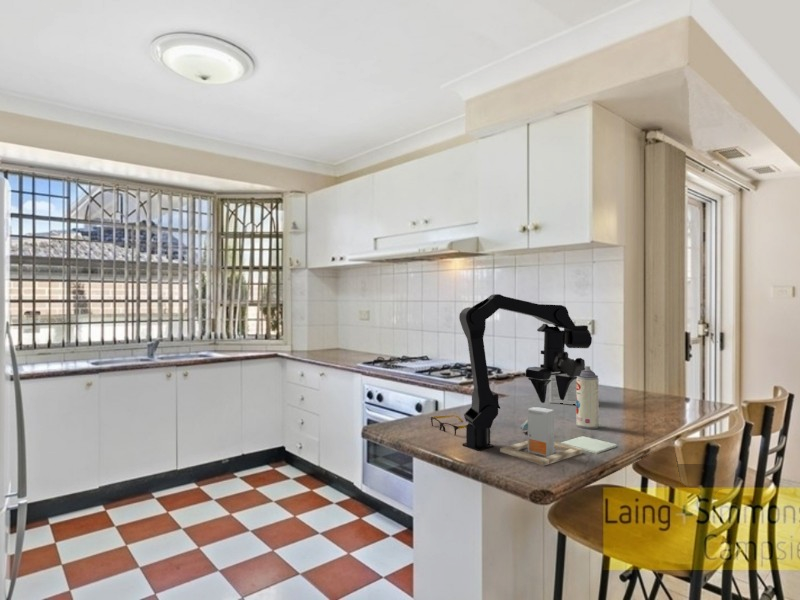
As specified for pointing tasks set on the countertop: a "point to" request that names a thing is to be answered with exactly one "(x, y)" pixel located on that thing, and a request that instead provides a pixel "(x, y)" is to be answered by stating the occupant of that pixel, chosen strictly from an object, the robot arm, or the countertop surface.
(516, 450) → the wooden frame
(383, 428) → the countertop surface
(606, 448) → the sage mat
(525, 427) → the pacifier
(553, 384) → the supplement box
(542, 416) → the skincare box
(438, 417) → the eyeglasses
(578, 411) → the aerosol can
